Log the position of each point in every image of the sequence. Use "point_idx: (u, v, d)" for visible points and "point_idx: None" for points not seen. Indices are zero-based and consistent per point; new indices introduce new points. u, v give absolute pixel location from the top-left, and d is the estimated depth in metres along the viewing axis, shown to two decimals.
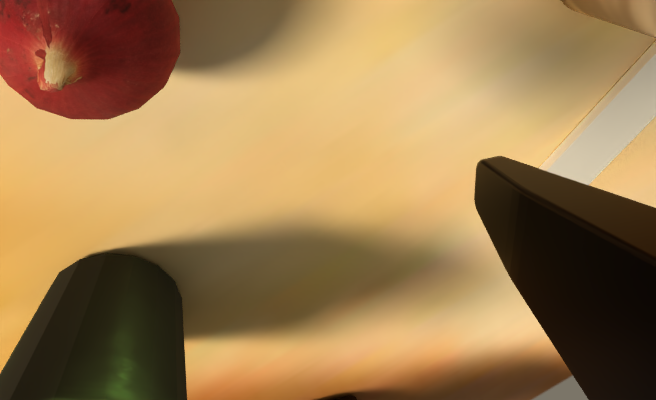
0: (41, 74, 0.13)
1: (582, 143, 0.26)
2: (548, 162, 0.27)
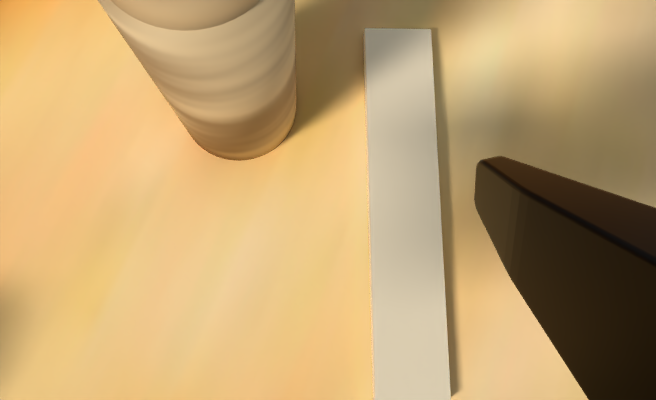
0: None
1: (384, 254, 0.21)
2: (371, 298, 0.21)
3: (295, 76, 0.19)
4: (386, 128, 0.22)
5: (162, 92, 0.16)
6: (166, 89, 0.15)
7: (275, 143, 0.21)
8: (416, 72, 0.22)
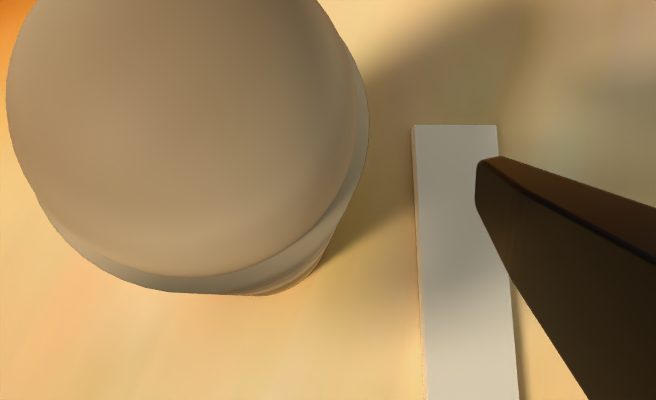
0: None
1: None
2: None
3: None
4: (444, 255, 0.17)
5: None
6: None
7: (305, 277, 0.17)
8: None
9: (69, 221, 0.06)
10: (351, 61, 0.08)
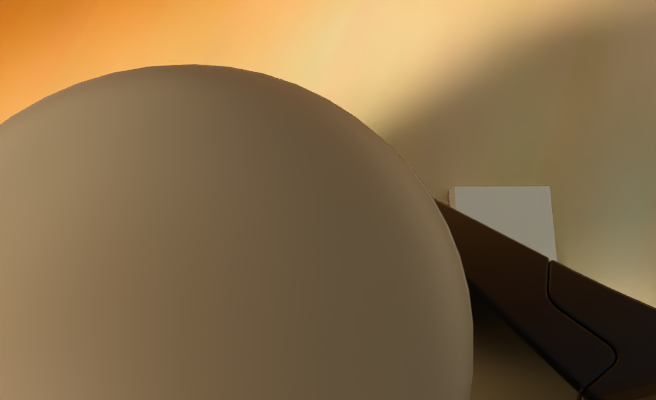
0: None
1: None
2: None
3: None
4: None
5: None
6: None
7: None
8: None
9: None
10: None
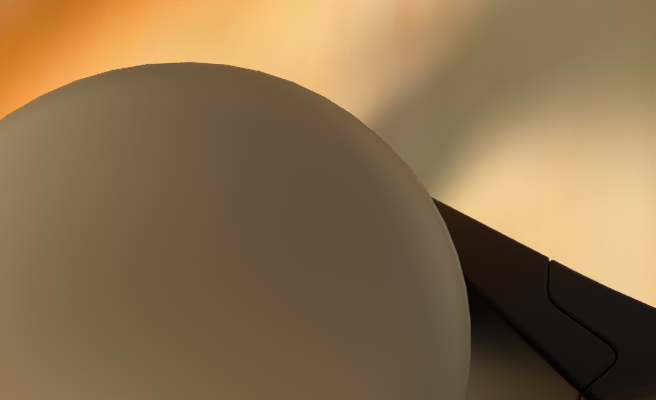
0: None
1: None
2: None
3: None
4: None
5: None
6: None
7: None
8: None
9: None
10: None
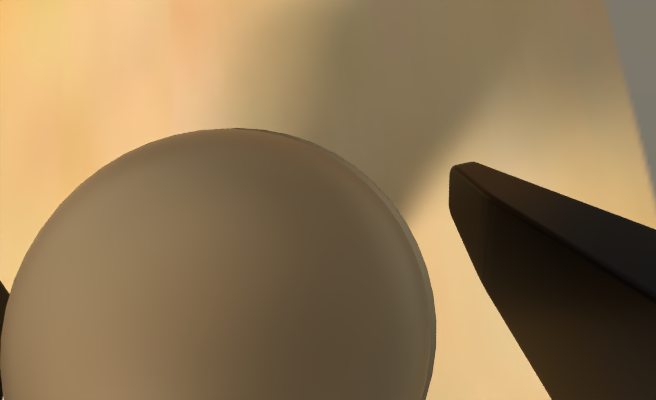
0: None
1: None
2: None
3: None
4: None
5: None
6: None
7: None
8: None
9: None
10: (413, 243, 0.06)
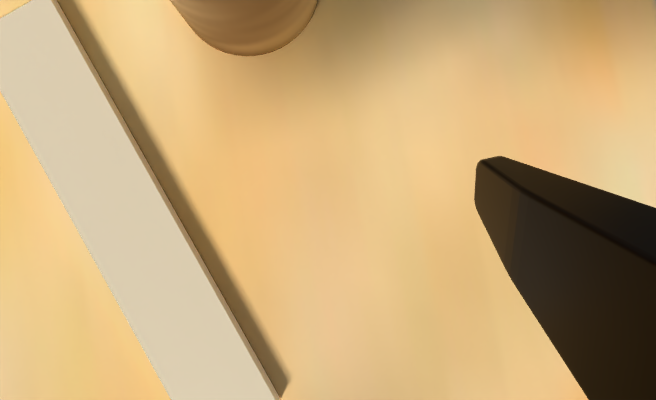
0: None
1: (127, 286, 0.17)
2: None
3: None
4: (56, 142, 0.17)
5: None
6: None
7: (297, 28, 0.17)
8: (57, 55, 0.17)
9: None
10: None
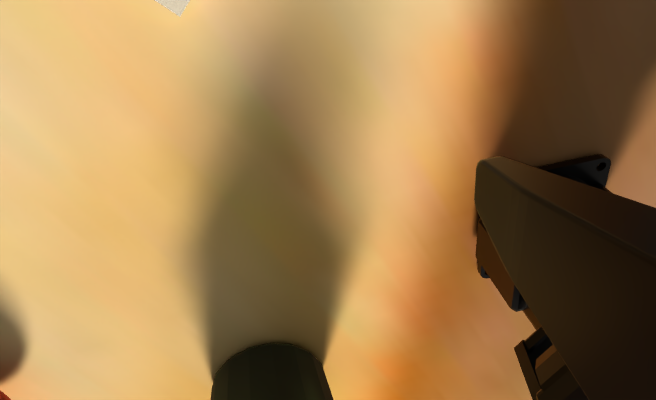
0: None
1: None
2: None
3: None
4: None
5: None
6: None
7: None
8: None
9: None
10: None
